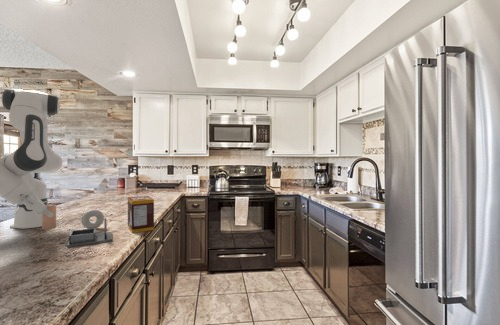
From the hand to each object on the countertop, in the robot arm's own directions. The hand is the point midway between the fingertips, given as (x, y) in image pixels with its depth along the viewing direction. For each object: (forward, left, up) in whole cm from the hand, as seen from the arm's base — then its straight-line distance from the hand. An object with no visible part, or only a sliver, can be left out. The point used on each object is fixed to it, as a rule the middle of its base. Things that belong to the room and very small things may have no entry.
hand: (51, 214), depth 110 cm
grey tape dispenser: (+3, +15, -12) cm, 19 cm away
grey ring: (-18, +15, -12) cm, 26 cm away
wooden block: (0, -1, -6) cm, 6 cm away
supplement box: (-8, +36, -12) cm, 39 cm away
